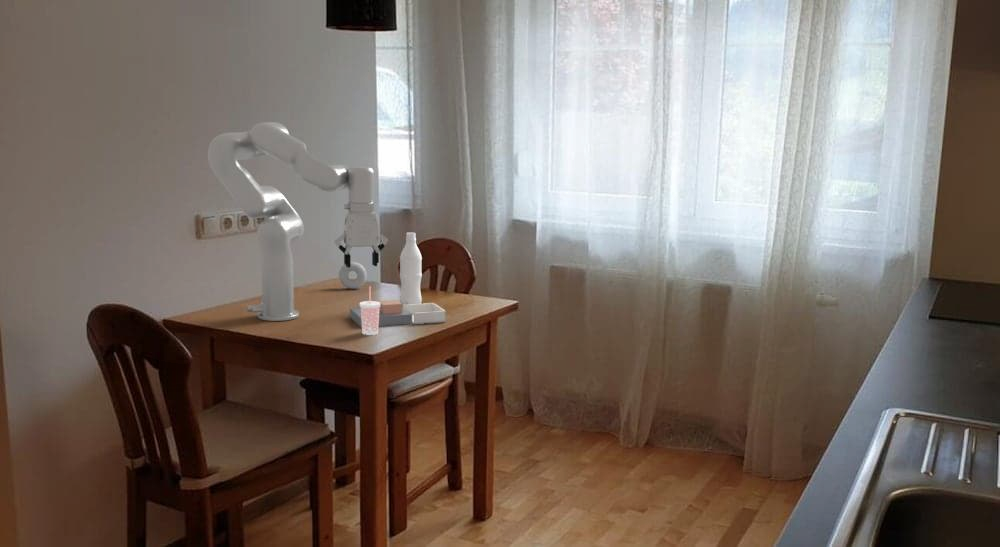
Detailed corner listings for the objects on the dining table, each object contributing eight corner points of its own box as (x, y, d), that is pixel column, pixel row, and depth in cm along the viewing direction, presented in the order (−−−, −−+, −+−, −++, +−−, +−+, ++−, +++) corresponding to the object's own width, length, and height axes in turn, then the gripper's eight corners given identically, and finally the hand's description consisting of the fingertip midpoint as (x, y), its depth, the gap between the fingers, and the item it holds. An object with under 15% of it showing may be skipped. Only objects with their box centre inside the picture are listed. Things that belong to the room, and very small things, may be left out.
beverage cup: (373, 336, 258) (373, 289, 255) (355, 334, 260) (355, 287, 258) (384, 331, 264) (384, 285, 261) (366, 329, 266) (366, 283, 263)
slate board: (360, 327, 268) (360, 317, 267) (350, 317, 281) (349, 307, 280) (412, 323, 274) (412, 314, 273) (399, 313, 287) (399, 304, 286)
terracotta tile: (383, 314, 272) (383, 305, 271) (378, 310, 277) (378, 300, 277) (402, 313, 274) (402, 303, 274) (396, 309, 280) (396, 299, 279)
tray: (414, 324, 273) (414, 313, 272) (402, 315, 284) (403, 304, 284) (445, 322, 277) (446, 311, 276) (433, 313, 288) (433, 302, 287)
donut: (338, 289, 321) (338, 262, 319) (339, 287, 324) (338, 260, 322) (366, 290, 322) (366, 262, 320) (367, 288, 325) (366, 261, 323)
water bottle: (411, 311, 290) (411, 235, 286) (395, 307, 295) (395, 232, 290) (426, 307, 296) (426, 232, 291) (410, 304, 300) (410, 230, 296)
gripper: (335, 210, 260) (335, 269, 263) (393, 208, 266) (392, 267, 270) (329, 207, 266) (330, 265, 270) (386, 206, 273) (386, 262, 276)
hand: (361, 265), depth 270 cm, fingers open, 7 cm apart
